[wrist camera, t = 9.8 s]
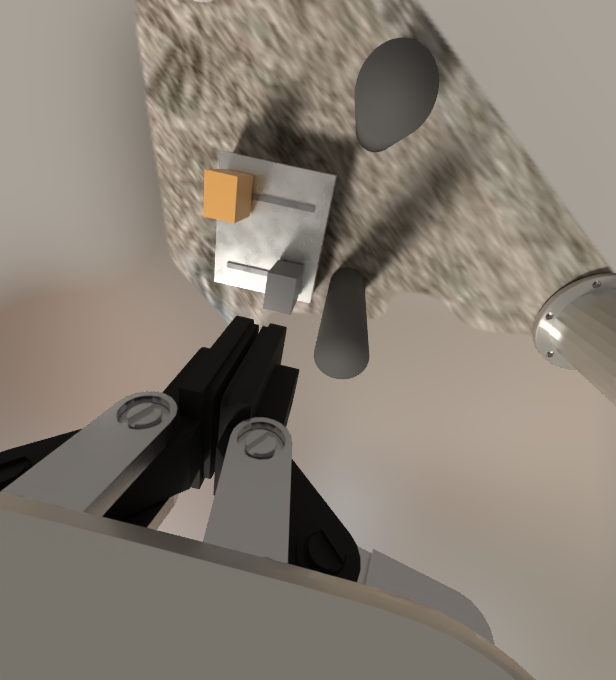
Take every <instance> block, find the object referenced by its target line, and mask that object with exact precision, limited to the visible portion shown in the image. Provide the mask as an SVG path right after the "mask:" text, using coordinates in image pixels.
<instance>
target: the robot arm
mask: <svg viewBox="0 0 616 680" xmlns="http://www.w3.org/2000/svg"><path fill="white" fill-rule="evenodd" d="M258 332H259V325H257V324H254V320H253V319H250V318H245V317H241V316H236V317H235V318H234V319H233V321H232V322H231V323H230V324H229V326H228V327H227V328H226V329H225V331H224V332H223V333H222V334H221V336H220V337H219V338H218V339H217V341H216V342H215V343H214V344H213V346H212V347H211V348H210V349H209V348H205V347H202V348H201V349H200V350H199V351H198V352H197V353H196V354H195V355H194V356H193V358H192V359H191V360H190V361H189V362H188V363H187V365H186V366H185V367H184V368H183V369H182V370H181V372H180V373H179V374H178V375H177V376H176V378H175V379H174V380H173V381H172V382H171V383H170V384H169V386H168V387H167V388H166V389H165V390H164V391H163V393H159V392H140V393H135V394H132V395H130V396H127V397H125V398H123V399H122V400H120V401H118V402H117V403H116V404H114V405H113V406H112V407H111V408H109V409H108V410H107V411H105V412H104V413H103V414H101V415H100V416H99V417H97V418H96V419H95V420H93V421H92V422H91V423H90V424H88V425H87V426H86V427H84V428H83V429H80V430H76V431H72V432H69V433H65V434H62V435H58V436H55V437H51V438H48V439H44V440H41V441H37V442H34V443H30V444H26V445H23V446H20V447H16V448H12V449H9V450H6V451H3V452H0V680H536V679H534V677H532V676H531V675H530V674H529V673H528V672H527V671H526V670H525V669H523V668H522V667H521V666H520V665H519V664H518V663H517V662H516V661H515V660H513V659H512V658H511V657H509V656H508V655H507V654H505V653H504V652H503V651H502V650H500V649H499V648H497V647H496V646H495V645H494V641H493V637H492V633H491V630H490V627H489V625H488V624H487V622H486V620H485V618H484V616H483V615H482V613H481V612H480V611H479V610H478V608H477V607H476V606H475V605H474V604H473V602H472V601H471V600H469V599H468V598H466V597H465V596H464V595H462V594H461V593H459V592H458V591H456V590H454V589H452V588H449V587H447V586H446V585H444V584H442V583H440V582H438V581H436V580H434V579H432V578H430V577H428V576H426V575H424V574H422V573H420V572H418V571H416V570H414V569H412V568H410V567H408V566H406V565H404V564H402V563H400V562H398V561H396V560H394V559H392V558H390V557H388V556H386V555H384V554H382V553H380V552H378V551H376V550H374V549H373V550H372V552H371V553H370V552H368V551H366V550H364V549H362V548H360V547H358V546H357V545H356V543H355V541H354V539H353V538H352V536H351V534H350V533H349V532H348V531H347V529H346V528H345V527H344V525H343V524H342V523H341V521H340V520H339V519H338V518H337V516H336V515H335V514H334V512H333V511H332V510H331V509H330V507H329V506H328V505H327V503H326V502H325V501H324V499H323V498H322V497H321V496H320V494H319V493H318V492H317V490H316V489H315V488H314V487H313V485H312V484H311V483H310V481H309V480H308V479H307V478H306V476H305V475H304V474H303V472H302V471H301V470H300V469H299V467H298V466H297V465H296V463H295V462H294V461H293V459H292V439H291V435H290V433H289V431H288V430H287V428H286V425H287V421H288V417H289V414H290V410H291V406H292V402H293V398H294V393H295V389H296V384H297V379H298V375H299V369H296V368H291V367H287V366H283V365H281V359H282V353H283V347H284V341H285V336H286V327H284V326H280V325H276V324H269V326H268V327H265V326H263V327H262V328H261V330H260V332H259V334H258ZM532 333H533V342H534V345H535V347H536V349H537V350H538V352H539V353H540V354H541V356H542V357H543V358H545V359H546V360H547V361H549V362H550V363H551V364H553V365H556V366H558V367H560V368H565V369H569V370H577V371H578V372H579V373H580V374H581V375H582V376H584V377H585V378H586V379H587V380H588V381H589V382H590V383H591V384H592V385H593V386H594V387H595V388H597V389H598V390H599V391H600V392H601V393H602V394H603V395H604V396H605V397H606V398H607V399H608V400H609V401H611V402H612V403H613V404H614V405H615V406H616V273H605V274H598V275H593V276H589V277H586V278H582V279H580V280H578V281H575V282H573V283H571V284H569V285H568V286H566V287H564V288H563V289H561V290H560V291H558V292H557V293H556V294H555V295H553V296H552V297H551V298H550V299H549V300H548V301H547V302H546V303H545V305H544V306H543V307H542V309H541V310H540V312H539V313H538V315H537V317H536V320H535V322H534V326H533V331H532ZM214 472H215V479H214V496H215V497H214V502H213V505H212V509H211V513H210V517H209V521H208V524H207V528H206V532H205V536H204V540H203V542H200V541H197V540H193V539H189V538H185V537H181V536H177V535H173V534H169V533H165V532H161V531H157V529H158V527H159V526H160V524H161V523H162V522H163V520H164V519H165V518H166V516H167V515H168V513H169V512H170V511H171V509H172V508H173V507H174V505H175V503H176V501H177V499H178V496H179V493H181V492H183V491H185V490H187V489H190V487H192V488H196V489H200V487H201V485H202V483H203V481H204V479H205V478H209V479H211V478H212V476H213V474H214Z"/></svg>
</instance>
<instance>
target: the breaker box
mask: <svg viewBox="0 0 616 680" xmlns="http://www.w3.org/2000/svg"><path fill="white" fill-rule="evenodd" d="M219 169H227V170H232V171H236V172H241V173H246V174H250V175H253V186H252V197H251V208H250V216H249V217H247V218H245V219H243V220H240V221H238V222H236V223H231V222H226V221H222V220H217V231H216V255H215V279H214V281H215V282H219V283H223V284H228V285H232V286H237V287H241V288H246V289H250V290H254V291H259V292H263V293H265V290H266V282H267V274H268V271H269V270H270V269H271V268H272V267H273V265H274V264H275V263H276V262H277V261H278V260H282V261H286V262H291V263H295V264H300V265H304V268H303V274H302V279H301V284H300V290H299V295H298V299H297V300H298V301H303V302H307V303H310V301H311V298H312V296H313V293H314V288H315V283H316V279H317V274H318V269H319V264H320V259H321V254H322V250H323V245H324V240H325V235H326V230H327V225H328V221H329V216H330V211H331V206H332V201H333V196H334V192H335V187H336V182H337V177H338V175H336V174H331V173H327V172H322V171H317V170H313V169H308V168H303V167H299V166H294V165H290V164H285V163H280V162H276V161H271V160H266V159H262V158H257V157H252V156H248V155H243V154H238V153H234V152H226V151H220V160H219Z"/></svg>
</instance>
